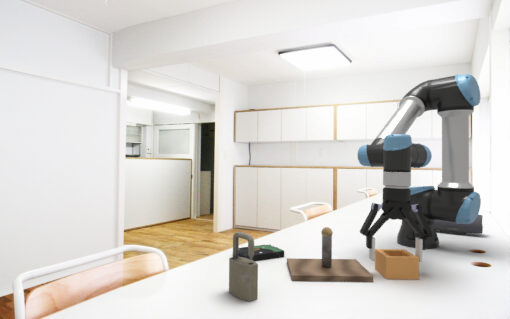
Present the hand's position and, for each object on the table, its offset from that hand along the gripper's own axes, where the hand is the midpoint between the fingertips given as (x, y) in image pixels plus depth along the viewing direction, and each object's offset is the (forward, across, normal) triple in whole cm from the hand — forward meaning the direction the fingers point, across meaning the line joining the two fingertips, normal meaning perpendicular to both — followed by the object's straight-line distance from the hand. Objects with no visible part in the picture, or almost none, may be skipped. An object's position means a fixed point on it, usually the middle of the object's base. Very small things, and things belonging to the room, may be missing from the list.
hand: (395, 260), depth 98 cm
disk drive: (+5, +40, -17) cm, 44 cm away
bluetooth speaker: (+3, -51, -59) cm, 79 cm away
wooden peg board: (+4, +20, -1) cm, 20 cm away
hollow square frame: (+4, 0, 0) cm, 4 cm away
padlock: (+5, +44, +17) cm, 47 cm away
